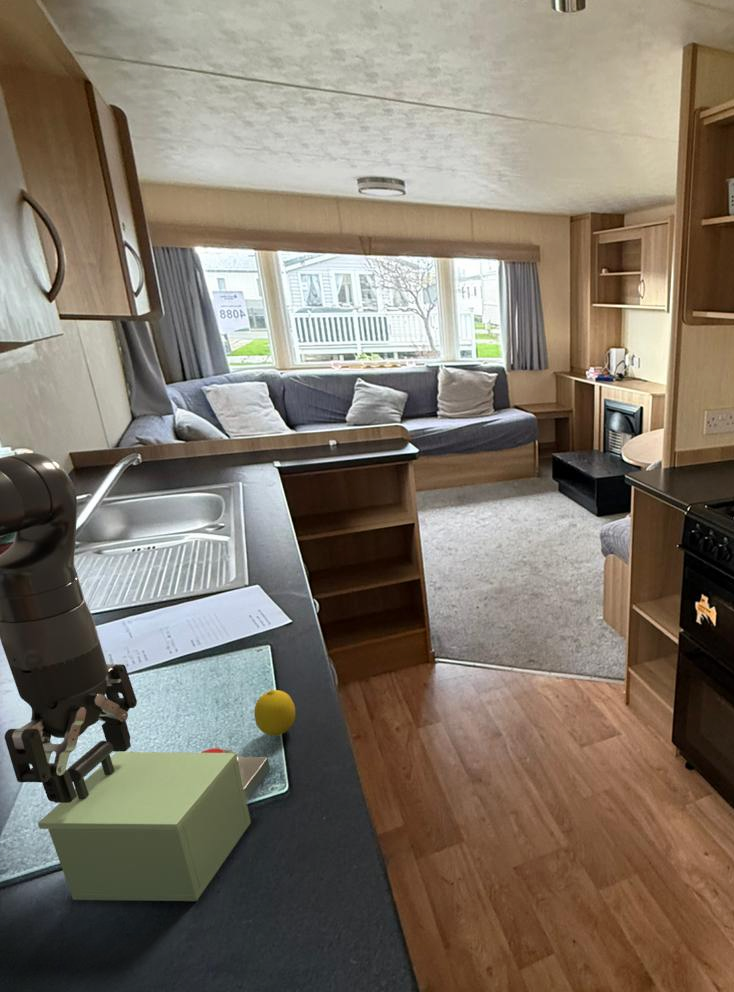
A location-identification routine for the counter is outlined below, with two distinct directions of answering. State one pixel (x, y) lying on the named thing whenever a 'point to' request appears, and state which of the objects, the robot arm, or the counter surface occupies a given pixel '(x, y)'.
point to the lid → (137, 789)
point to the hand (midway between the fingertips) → (94, 773)
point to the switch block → (251, 772)
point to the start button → (213, 751)
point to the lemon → (274, 712)
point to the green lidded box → (156, 851)
